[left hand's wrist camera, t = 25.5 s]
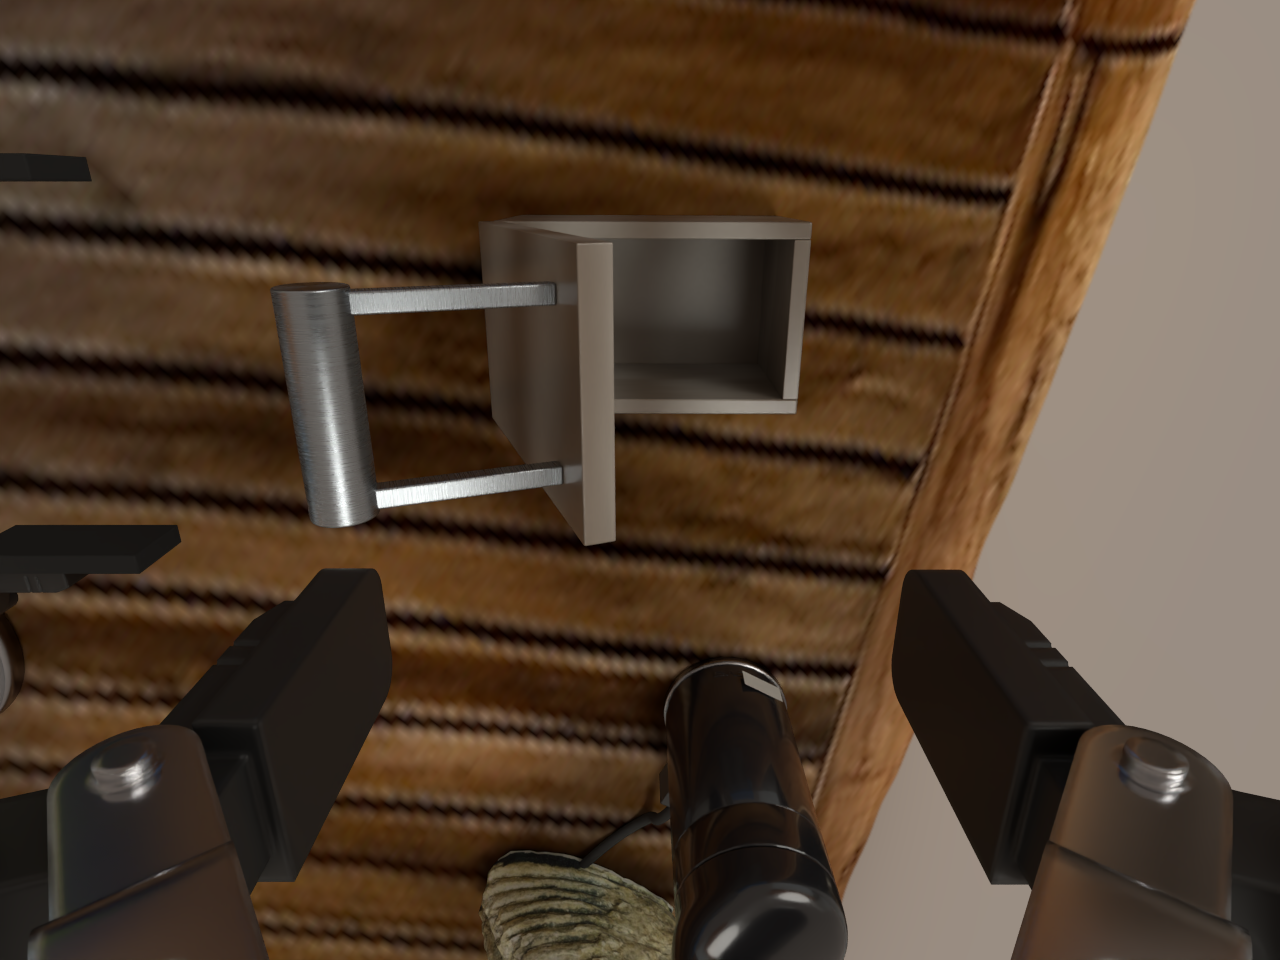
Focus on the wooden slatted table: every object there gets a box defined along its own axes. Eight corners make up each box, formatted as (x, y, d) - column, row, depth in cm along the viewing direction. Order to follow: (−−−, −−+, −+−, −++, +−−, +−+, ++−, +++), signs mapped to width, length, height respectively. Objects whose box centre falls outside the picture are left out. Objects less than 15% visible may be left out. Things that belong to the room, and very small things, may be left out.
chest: (778, 215, 45) (812, 222, 36) (767, 373, 48) (796, 414, 39) (521, 214, 45) (492, 220, 36) (529, 372, 48) (504, 413, 39)
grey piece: (613, 242, 21) (253, 249, 18) (615, 541, 25) (314, 591, 22) (501, 221, 35) (286, 223, 32) (513, 415, 39) (320, 435, 36)
